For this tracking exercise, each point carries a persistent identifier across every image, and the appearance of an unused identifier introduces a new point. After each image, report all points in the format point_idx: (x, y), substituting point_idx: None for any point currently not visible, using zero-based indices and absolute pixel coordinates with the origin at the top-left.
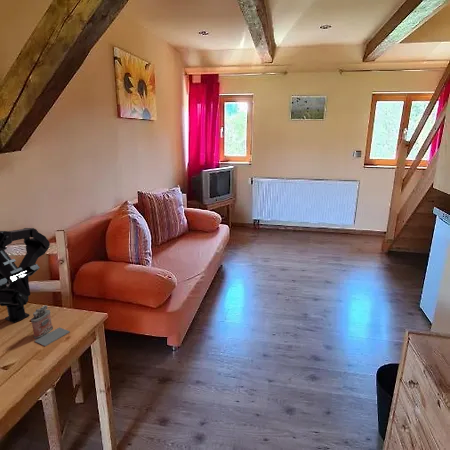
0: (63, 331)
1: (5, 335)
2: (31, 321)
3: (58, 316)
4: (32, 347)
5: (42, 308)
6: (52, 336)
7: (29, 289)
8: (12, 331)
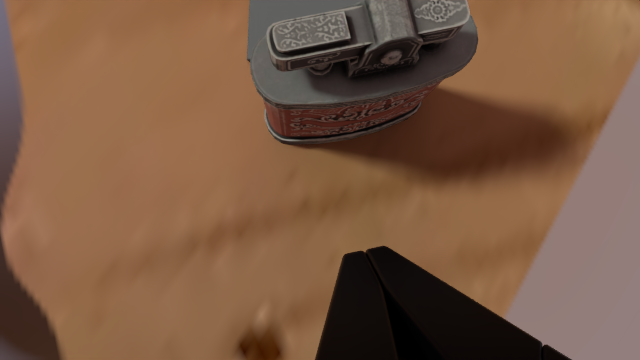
0: None
1: None
2: (474, 43)
3: (130, 214)
4: (482, 26)
5: (344, 13)
6: (349, 4)
7: (336, 307)
8: None
